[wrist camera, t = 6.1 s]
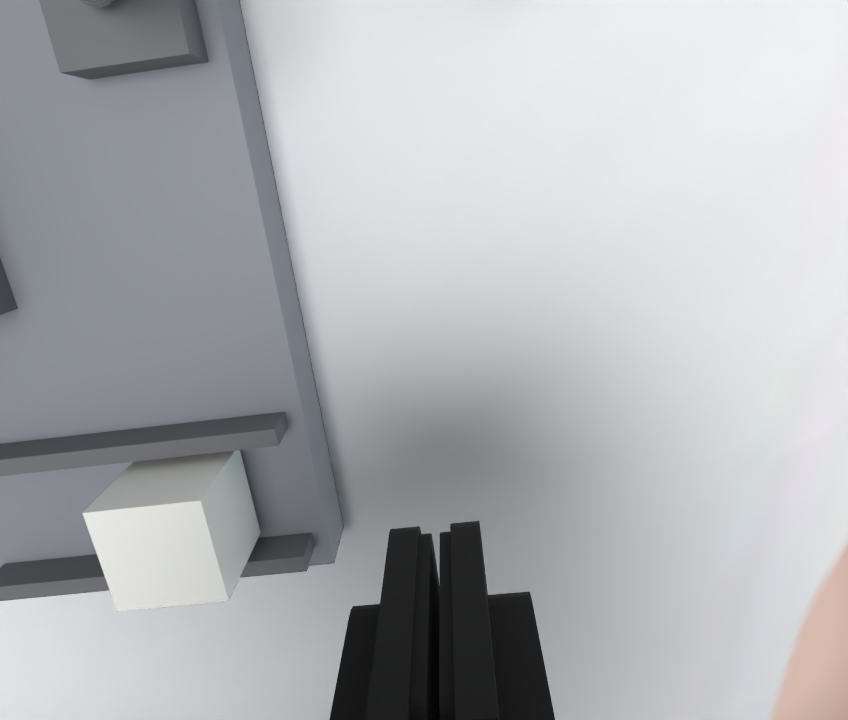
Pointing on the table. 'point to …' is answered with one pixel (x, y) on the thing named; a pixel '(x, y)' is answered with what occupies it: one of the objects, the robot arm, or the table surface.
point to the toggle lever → (96, 2)
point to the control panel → (144, 284)
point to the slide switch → (174, 530)
